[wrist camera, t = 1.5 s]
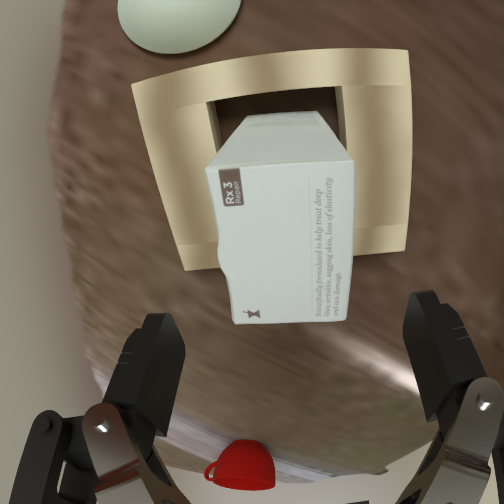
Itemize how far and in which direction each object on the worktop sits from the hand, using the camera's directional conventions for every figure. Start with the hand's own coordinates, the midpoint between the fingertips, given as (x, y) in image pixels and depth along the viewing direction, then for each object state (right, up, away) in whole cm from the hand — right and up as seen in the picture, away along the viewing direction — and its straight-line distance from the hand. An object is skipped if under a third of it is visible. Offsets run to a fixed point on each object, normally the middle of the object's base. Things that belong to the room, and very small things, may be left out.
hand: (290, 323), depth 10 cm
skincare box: (+1, +10, +15) cm, 18 cm away
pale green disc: (-7, +22, +8) cm, 24 cm away
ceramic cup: (-4, -40, +50) cm, 65 cm away
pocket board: (+1, +10, +15) cm, 18 cm away
